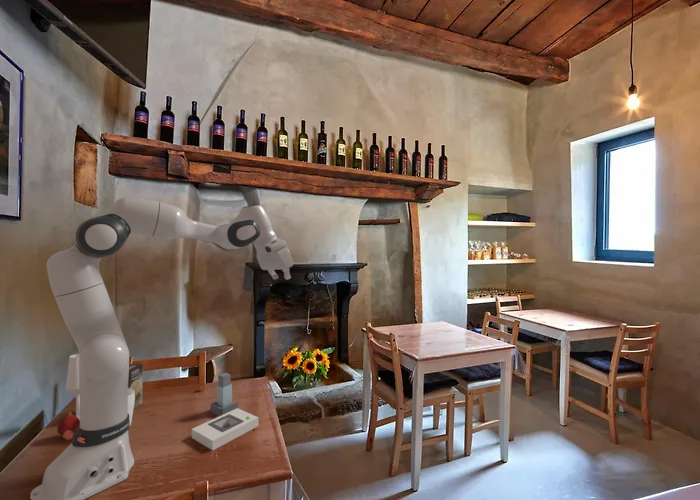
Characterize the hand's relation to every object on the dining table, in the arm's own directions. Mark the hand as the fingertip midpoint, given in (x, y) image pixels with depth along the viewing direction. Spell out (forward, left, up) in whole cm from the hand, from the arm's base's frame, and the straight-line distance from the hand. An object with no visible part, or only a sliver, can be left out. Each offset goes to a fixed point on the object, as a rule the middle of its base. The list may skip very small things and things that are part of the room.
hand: (282, 278), depth 129 cm
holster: (-8, +21, -52) cm, 56 cm away
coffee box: (-23, +57, -52) cm, 81 cm away
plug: (-8, +21, -52) cm, 56 cm away
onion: (-44, +54, -52) cm, 87 cm away
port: (-19, +9, -52) cm, 56 cm away
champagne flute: (-37, +63, -52) cm, 90 cm away
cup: (-33, +45, -52) cm, 76 cm away
